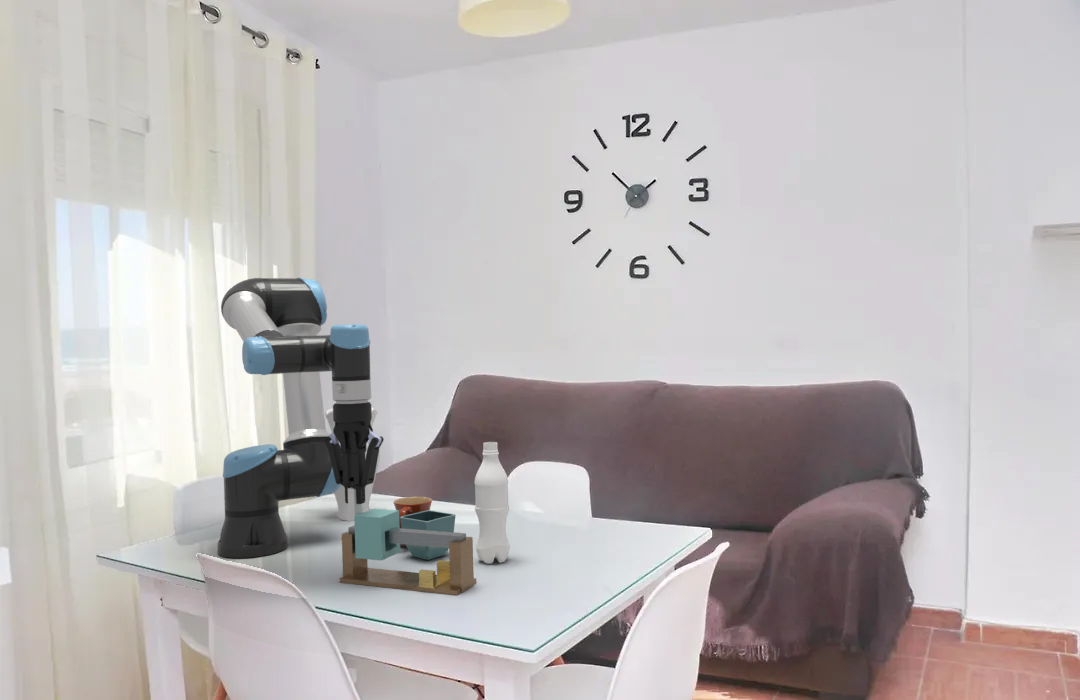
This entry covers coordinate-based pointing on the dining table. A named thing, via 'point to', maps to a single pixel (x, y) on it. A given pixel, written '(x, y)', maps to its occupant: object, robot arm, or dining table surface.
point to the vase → (341, 491)
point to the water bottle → (491, 506)
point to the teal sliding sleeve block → (375, 534)
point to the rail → (449, 573)
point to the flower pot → (431, 523)
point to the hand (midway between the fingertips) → (355, 519)
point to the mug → (411, 507)
